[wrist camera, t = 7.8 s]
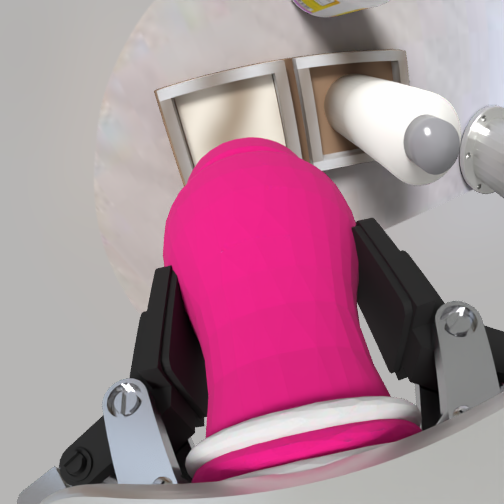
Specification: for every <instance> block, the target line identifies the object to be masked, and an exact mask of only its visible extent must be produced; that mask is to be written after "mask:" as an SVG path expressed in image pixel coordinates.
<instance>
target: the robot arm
mask: <svg viewBox="0 0 504 504" xmlns="http://www.w3.org/2000/svg"><path fill="white" fill-rule="evenodd" d="M460 167H461V172H462V175H463V177H464V179H465V181H466V183H467V184H468V185H469V186H470V187H471V188H472V189H474V190H475V191H477V192H479V193H482V194H489V193H493V192H496V193H498V194H499V195H500V196H502V197H503V198H504V108H503V107H500V106H497V105H490V106H486V107H484V108H482V109H481V110H479V111H478V112H477V113H476V114H475V115H474V116H473V117H472V119H471V120H470V121H469V123H468V125H467V127H466V129H465V132H464V135H463V137H462V142H461V146H460ZM351 229H352V232H353V236H354V241H355V246H356V251H357V256H358V262H359V283H358V290H357V303H358V305H359V307H360V309H361V311H362V313H363V315H364V317H365V319H366V322H367V324H368V326H369V328H370V330H371V332H372V334H373V337H374V339H375V341H376V343H377V345H378V347H379V350H380V352H381V354H382V356H383V359H384V361H385V363H386V365H387V368H388V370H389V372H390V373H393V372H395V373H396V375H397V378H398V380H401V379H404V378H406V377H408V378H409V381H410V382H413V383H415V392H416V406H417V407H418V409H419V410H420V412H421V416H422V421H421V425H420V428H421V430H422V432H419V433H417V434H414V435H412V436H409V437H407V438H404V439H401V440H399V441H396V442H393V443H390V444H387V445H385V446H382V447H379V448H376V449H373V450H370V451H367V452H363V453H360V454H357V455H353V456H350V457H347V458H343V459H340V460H337V461H335V462H332V463H330V464H327V465H323V466H320V467H316V468H312V469H307V470H302V471H297V472H291V473H284V474H271V475H265V476H258V477H252V478H244V479H236V480H227V481H217V482H204V483H191V481H192V478H191V477H190V475H189V474H188V472H187V470H186V467H185V462H186V457H187V456H188V454H189V452H190V451H191V450H192V449H193V448H194V447H195V446H194V443H193V441H192V438H191V436H192V435H193V434H194V433H195V427H201V426H204V417H207V411H208V386H207V377H206V367H205V359H204V356H203V353H202V349H201V346H200V342H199V341H198V339H197V337H196V335H195V333H194V331H193V328H192V326H191V323H190V321H189V318H188V316H187V313H186V311H185V308H184V304H183V300H182V296H181V291H180V287H179V282H178V278H177V275H176V273H175V272H174V271H173V270H172V265H170V266H166V267H162V268H158V269H156V270H155V274H154V279H153V283H152V288H151V293H150V298H149V304H148V309H147V311H145V312H143V313H142V314H141V317H140V321H139V326H138V332H137V337H136V343H135V349H134V354H133V361H132V366H131V372H130V378H126V379H123V380H120V381H118V382H116V383H114V384H113V385H112V386H111V387H110V388H109V389H108V390H107V392H106V393H105V395H104V398H103V402H102V404H103V406H102V409H103V416H102V417H101V418H100V419H99V420H98V421H97V422H96V423H95V424H94V425H92V426H91V427H90V428H89V429H88V430H87V431H86V432H85V433H84V434H83V435H81V436H80V437H79V438H78V439H77V440H76V441H75V442H74V443H73V444H72V445H71V446H69V447H68V448H67V449H66V451H65V452H64V453H63V455H62V457H61V459H60V465H59V468H57V467H55V466H54V467H53V468H51V469H50V470H49V471H48V472H47V473H45V474H44V475H43V476H41V477H40V478H39V479H37V480H36V481H35V482H34V483H32V484H31V485H30V486H28V487H27V488H26V489H25V490H23V491H22V492H21V493H20V495H19V497H18V500H17V504H504V332H503V331H500V330H496V329H493V328H490V327H487V326H484V324H483V321H482V318H481V316H480V314H479V312H478V311H477V310H476V309H475V308H474V307H472V306H471V305H469V304H467V303H464V302H460V301H452V302H447V303H446V304H445V303H444V302H443V301H442V299H441V298H440V296H439V295H438V294H437V292H436V291H435V289H434V288H433V286H432V285H431V284H430V282H429V281H428V280H427V278H426V277H425V276H424V274H423V273H422V271H421V270H420V269H419V267H418V266H417V265H416V264H415V262H414V261H413V260H412V258H411V257H410V256H409V254H408V253H407V252H405V251H400V250H399V249H398V248H397V247H396V245H395V244H394V243H393V241H392V240H391V239H390V238H389V236H388V235H387V234H386V233H385V231H384V230H383V229H382V228H381V226H380V225H379V224H378V223H377V221H376V220H375V219H374V218H369V219H364V220H360V221H357V222H356V226H354V227H352V228H351Z"/></svg>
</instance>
